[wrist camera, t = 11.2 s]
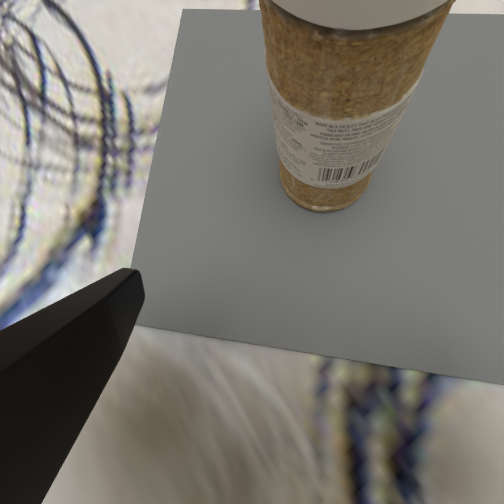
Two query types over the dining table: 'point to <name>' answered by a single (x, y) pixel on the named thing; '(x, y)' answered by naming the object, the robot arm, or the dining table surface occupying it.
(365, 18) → the sprinkles bottle
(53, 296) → the dining table surface
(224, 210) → the mat
